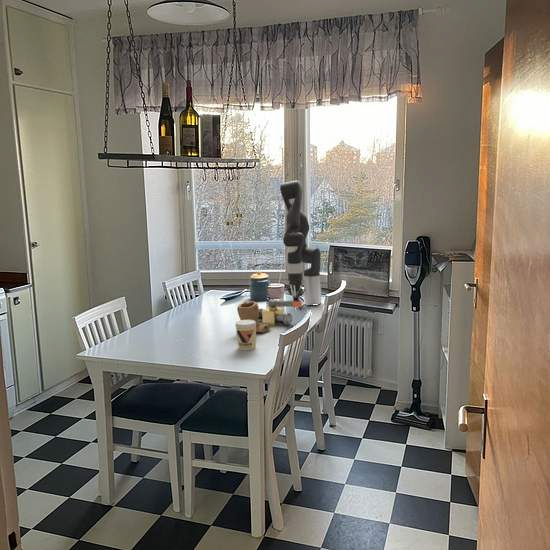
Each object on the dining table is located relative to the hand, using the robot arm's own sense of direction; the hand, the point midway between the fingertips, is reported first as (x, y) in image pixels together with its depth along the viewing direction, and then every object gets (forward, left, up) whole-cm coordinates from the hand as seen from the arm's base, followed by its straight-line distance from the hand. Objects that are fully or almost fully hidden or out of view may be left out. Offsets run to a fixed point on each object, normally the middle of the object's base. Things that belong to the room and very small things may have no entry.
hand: (296, 304), depth 299 cm
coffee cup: (+47, +8, -9) cm, 48 cm away
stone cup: (+27, -7, -9) cm, 29 cm away
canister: (-28, -51, -9) cm, 59 cm away
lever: (+5, -3, 0) cm, 6 cm away
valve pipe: (+9, -9, -9) cm, 15 cm away
